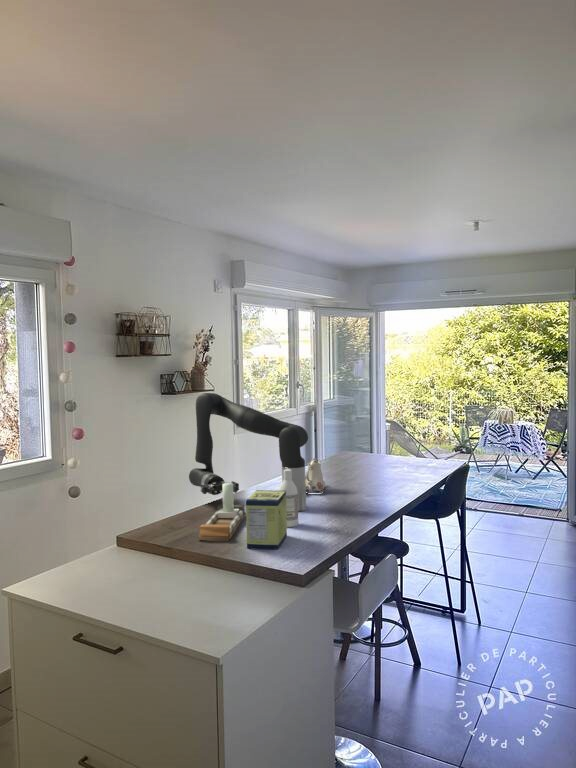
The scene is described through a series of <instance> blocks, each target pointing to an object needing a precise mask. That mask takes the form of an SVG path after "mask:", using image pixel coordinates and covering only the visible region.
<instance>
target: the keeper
mask: <svg viewBox="0 0 576 768" xmlns="http://www.w3.org/2000/svg"><path fill="white" fill-rule="evenodd" d="M222 489H223V492H222V505H223V509H220V510H219V511H218V513H217V516H218V518H235V517H236V515H237V514H238V512H239V509H234V505H235V503H234V501H235V499H234V492H233V483H231V482H228V483H224V484H222Z"/></svg>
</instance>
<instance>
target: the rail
mask: <svg viewBox="0 0 576 768" xmlns="http://www.w3.org/2000/svg"><path fill="white" fill-rule="evenodd" d="M220 509H223V504H218V506H217V510H216V511H215V512H214V514H213V515H212V516H211V517H210V518H209V520H208V521H207V522H206V523H205V524H201V525H200V526H199V536H198V541H199V540H207V541H206V542H229V541H230V540H231V538H232V537H233V535H234V534H235V532H236V531H237V529H238V528H239V526H240V525H239V524H241V523H242V522H243V520H244V518H246V511H245V504H234V509H239V512H238V514H237V515H236V517H235V518H218V516H217V513H218V511H219V510H220ZM229 539H230V540H229Z"/></svg>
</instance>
